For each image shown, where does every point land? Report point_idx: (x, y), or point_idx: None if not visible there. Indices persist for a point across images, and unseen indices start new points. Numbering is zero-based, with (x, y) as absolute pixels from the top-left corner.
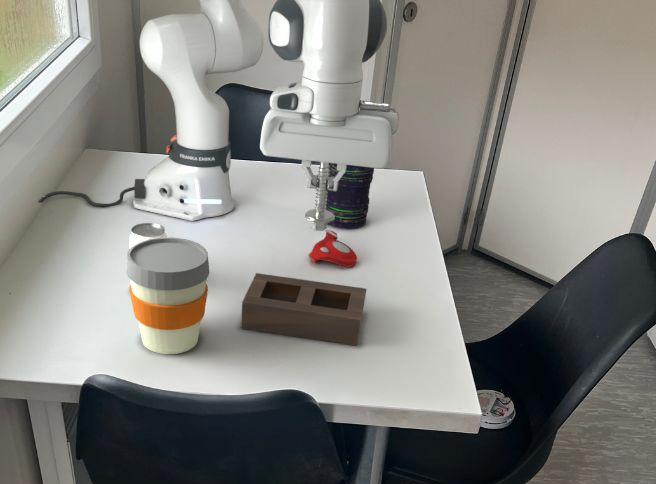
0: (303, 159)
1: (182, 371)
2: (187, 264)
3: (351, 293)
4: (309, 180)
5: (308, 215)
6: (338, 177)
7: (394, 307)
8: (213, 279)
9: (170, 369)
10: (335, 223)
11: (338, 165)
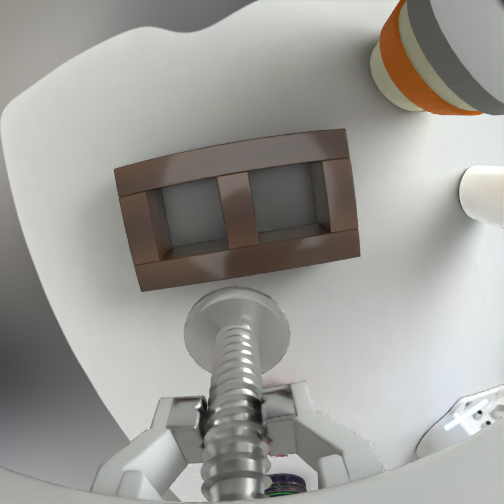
0: (381, 474)
1: (352, 8)
2: (453, 10)
3: (158, 260)
4: (301, 404)
5: (270, 311)
6: (142, 443)
7: (121, 314)
8: (417, 271)
9: (367, 9)
10: (284, 478)
11: (130, 493)
